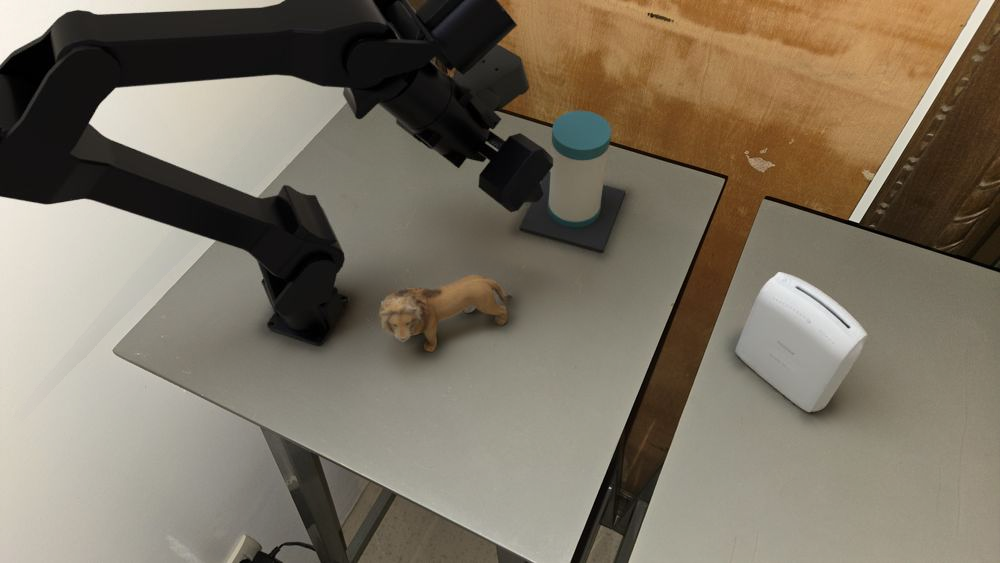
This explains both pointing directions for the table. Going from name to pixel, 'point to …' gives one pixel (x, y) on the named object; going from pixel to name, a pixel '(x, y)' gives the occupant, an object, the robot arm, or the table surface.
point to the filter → (578, 168)
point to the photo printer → (800, 341)
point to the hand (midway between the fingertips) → (511, 177)
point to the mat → (583, 237)
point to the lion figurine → (439, 307)
